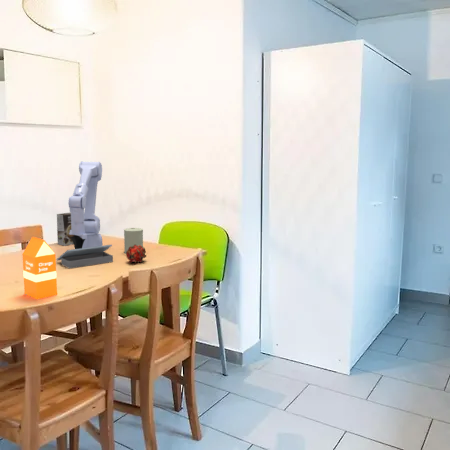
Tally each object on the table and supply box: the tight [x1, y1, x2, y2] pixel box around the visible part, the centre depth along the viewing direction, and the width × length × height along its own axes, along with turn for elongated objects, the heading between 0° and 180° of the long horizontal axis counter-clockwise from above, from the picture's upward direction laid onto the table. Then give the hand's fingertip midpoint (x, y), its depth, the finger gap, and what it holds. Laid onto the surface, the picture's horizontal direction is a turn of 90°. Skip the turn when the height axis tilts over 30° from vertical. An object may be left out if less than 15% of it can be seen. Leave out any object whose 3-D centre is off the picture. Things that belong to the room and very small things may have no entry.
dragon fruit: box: [125, 244, 147, 264], centre depth 219 cm, size 8×8×12 cm
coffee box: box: [56, 212, 74, 247], centre depth 257 cm, size 9×6×16 cm
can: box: [123, 227, 144, 255], centre depth 238 cm, size 9×9×12 cm
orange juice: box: [21, 236, 58, 300], centre depth 170 cm, size 8×9×20 cm
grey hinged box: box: [60, 251, 114, 269], centre depth 217 cm, size 20×9×3 cm, turn 130°
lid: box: [56, 244, 113, 261], centre depth 218 cm, size 20×14×3 cm
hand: (78, 251), depth 223 cm, fingers closed, pressing on lid
